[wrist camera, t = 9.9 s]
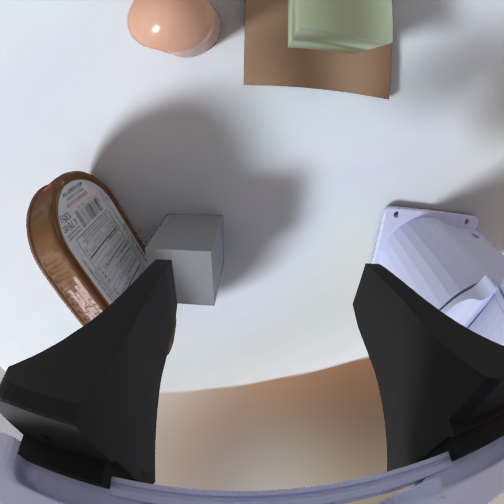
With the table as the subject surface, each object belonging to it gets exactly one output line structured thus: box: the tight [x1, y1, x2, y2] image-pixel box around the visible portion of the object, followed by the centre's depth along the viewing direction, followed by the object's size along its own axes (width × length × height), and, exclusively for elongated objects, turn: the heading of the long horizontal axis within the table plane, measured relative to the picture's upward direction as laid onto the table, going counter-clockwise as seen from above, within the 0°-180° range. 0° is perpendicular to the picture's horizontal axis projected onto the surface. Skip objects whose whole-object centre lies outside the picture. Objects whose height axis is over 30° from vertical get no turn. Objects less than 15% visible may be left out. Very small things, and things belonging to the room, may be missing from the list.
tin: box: [26, 171, 176, 355], centre depth 19 cm, size 15×3×8 cm, turn 23°
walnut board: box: [244, 0, 392, 99], centre depth 14 cm, size 9×9×1 cm
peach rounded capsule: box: [127, 0, 221, 57], centre depth 12 cm, size 4×4×5 cm
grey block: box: [145, 214, 223, 306], centre depth 20 cm, size 4×4×5 cm
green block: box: [288, 0, 393, 54], centre depth 11 cm, size 4×4×6 cm
